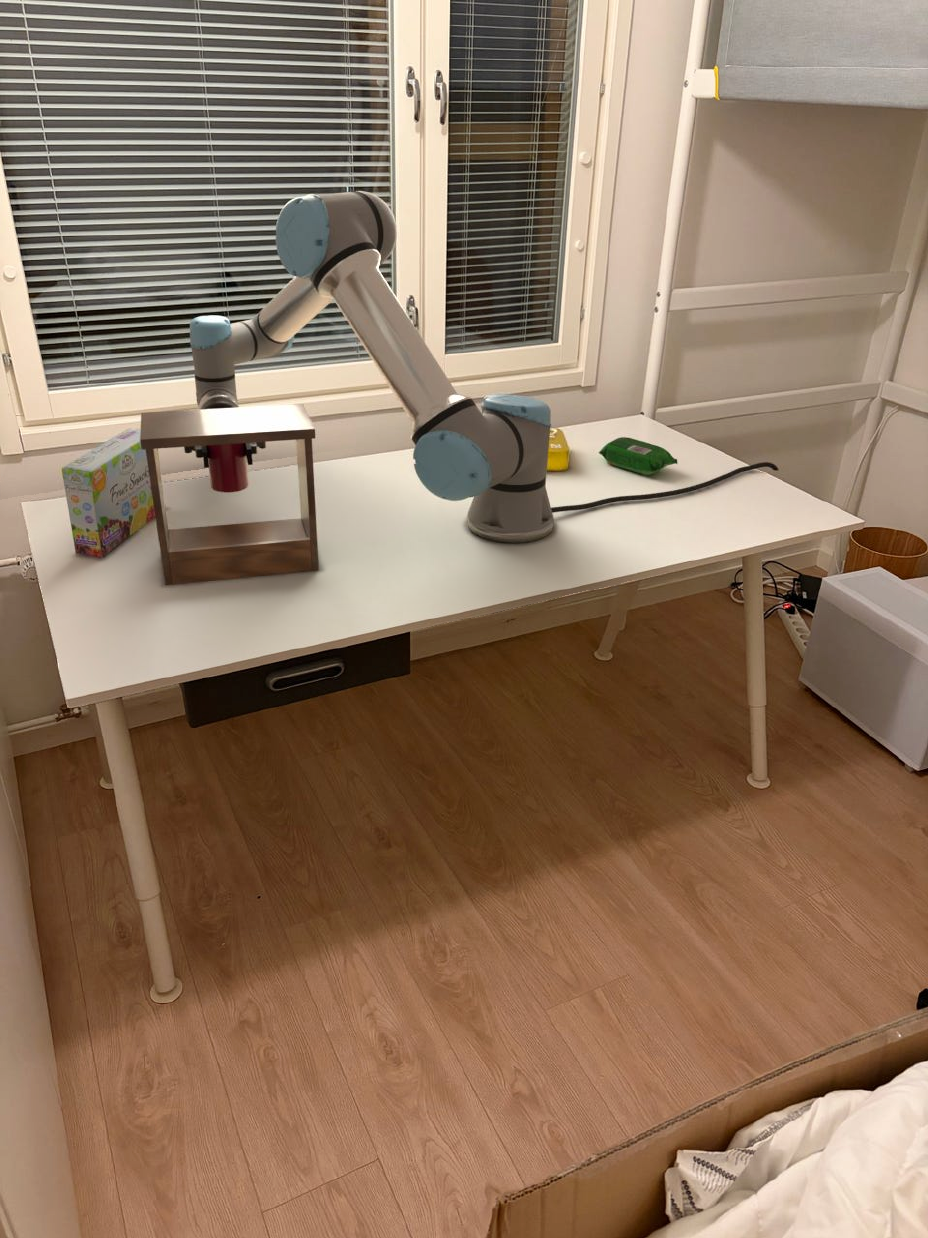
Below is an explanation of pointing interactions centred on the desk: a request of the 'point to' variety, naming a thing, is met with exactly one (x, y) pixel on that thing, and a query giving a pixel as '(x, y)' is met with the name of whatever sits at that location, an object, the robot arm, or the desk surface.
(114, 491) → the snack box
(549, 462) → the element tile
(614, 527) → the desk surface
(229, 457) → the cylinder
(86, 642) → the desk surface
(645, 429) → the desk surface
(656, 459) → the snack package
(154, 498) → the shelf
